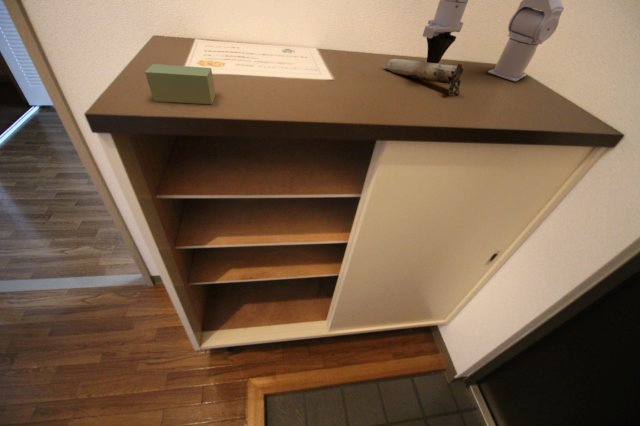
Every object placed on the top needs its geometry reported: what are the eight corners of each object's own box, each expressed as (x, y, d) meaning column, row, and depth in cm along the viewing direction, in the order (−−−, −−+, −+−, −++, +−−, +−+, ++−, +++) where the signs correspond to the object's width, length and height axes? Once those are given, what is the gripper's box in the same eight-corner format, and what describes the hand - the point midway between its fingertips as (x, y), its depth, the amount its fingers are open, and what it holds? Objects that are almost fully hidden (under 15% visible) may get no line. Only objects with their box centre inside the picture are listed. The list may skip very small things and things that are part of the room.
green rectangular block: (160, 92, 53) (152, 63, 50) (215, 95, 55) (211, 67, 51) (153, 101, 51) (144, 71, 47) (211, 104, 52) (206, 76, 48)
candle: (446, 98, 65) (459, 69, 60) (383, 69, 75) (390, 42, 71) (461, 93, 68) (473, 65, 63) (398, 66, 78) (405, 39, 74)
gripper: (452, -5, 67) (431, 58, 76) (420, -3, 59) (401, 67, 69) (480, 1, 64) (455, 66, 73) (451, 4, 56) (426, 76, 65)
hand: (430, 67), depth 71 cm, fingers closed
